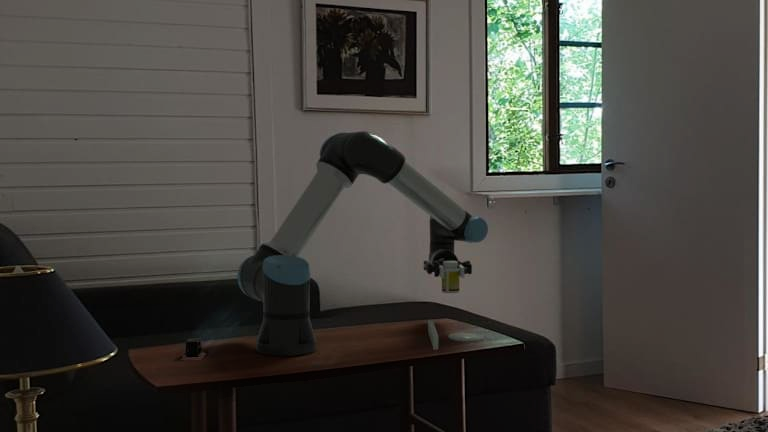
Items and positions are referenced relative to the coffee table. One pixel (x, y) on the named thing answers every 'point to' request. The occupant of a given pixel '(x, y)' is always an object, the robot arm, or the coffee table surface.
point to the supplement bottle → (450, 277)
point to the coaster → (465, 337)
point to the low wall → (433, 334)
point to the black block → (193, 347)
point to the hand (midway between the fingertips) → (452, 272)
